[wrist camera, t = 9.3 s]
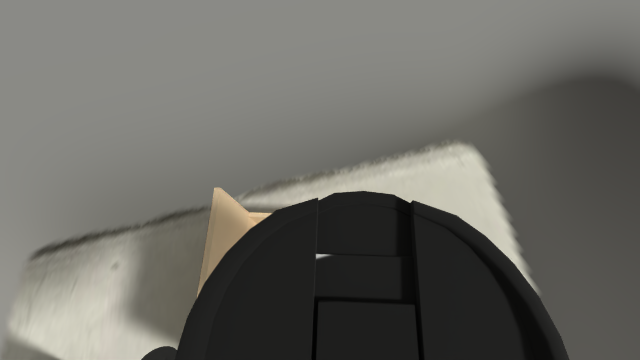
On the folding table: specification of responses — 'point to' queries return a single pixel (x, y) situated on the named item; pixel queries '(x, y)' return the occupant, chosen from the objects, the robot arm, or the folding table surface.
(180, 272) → the folding table surface
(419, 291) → the travel mug
